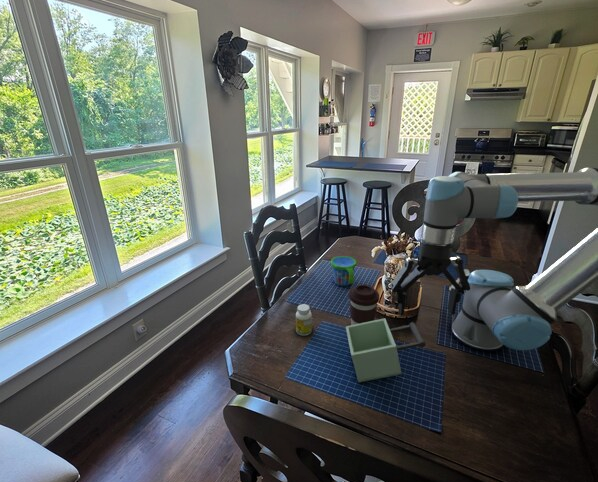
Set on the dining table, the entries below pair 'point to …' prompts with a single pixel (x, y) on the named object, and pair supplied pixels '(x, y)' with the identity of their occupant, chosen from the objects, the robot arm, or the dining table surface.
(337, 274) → the snack cup
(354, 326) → the pale green square box
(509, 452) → the dining table surface
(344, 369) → the dining table surface
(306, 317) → the supplement bottle
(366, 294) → the coffee cup
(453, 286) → the spoon
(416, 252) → the grapes
